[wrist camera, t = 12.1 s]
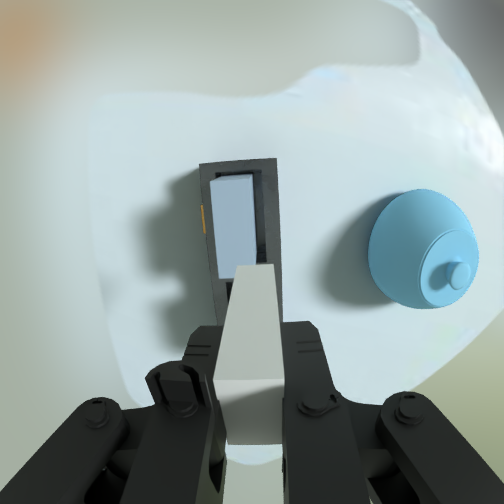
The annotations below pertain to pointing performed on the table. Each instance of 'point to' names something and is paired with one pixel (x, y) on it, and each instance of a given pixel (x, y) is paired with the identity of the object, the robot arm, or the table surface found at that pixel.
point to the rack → (265, 224)
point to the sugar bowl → (423, 250)
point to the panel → (234, 222)
